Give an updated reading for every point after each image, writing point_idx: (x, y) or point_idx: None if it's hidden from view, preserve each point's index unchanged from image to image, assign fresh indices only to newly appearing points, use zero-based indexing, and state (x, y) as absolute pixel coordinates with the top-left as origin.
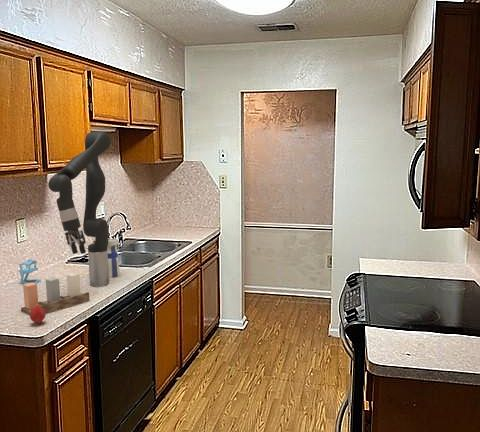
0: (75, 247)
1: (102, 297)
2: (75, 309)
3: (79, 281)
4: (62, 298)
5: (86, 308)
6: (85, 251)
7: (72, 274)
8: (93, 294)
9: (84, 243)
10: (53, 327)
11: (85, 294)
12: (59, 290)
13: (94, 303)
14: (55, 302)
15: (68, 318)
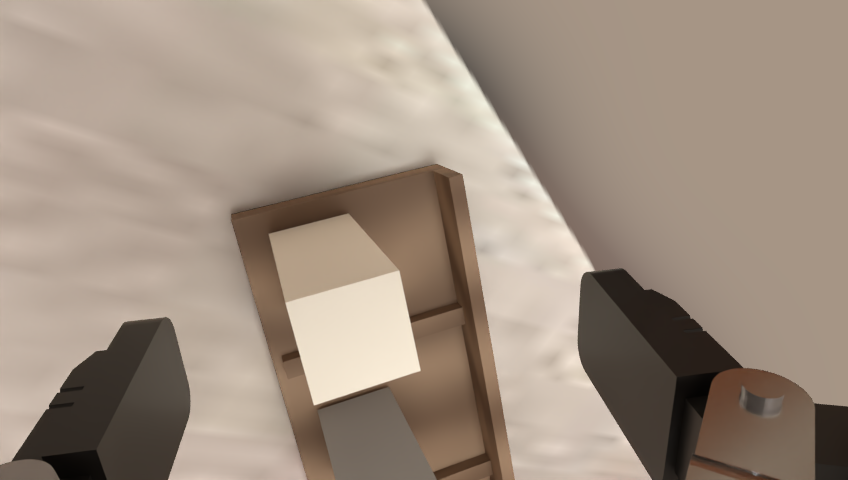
0: (130, 429)
1: (413, 35)
2: (538, 305)
3: (378, 249)
4: None
5: (567, 237)
6: (626, 280)
7: (368, 346)
8: (279, 65)
9: (793, 382)
10: None
11: (466, 210)
12: (412, 434)
13: (509, 152)
14: (508, 452)
15: None
